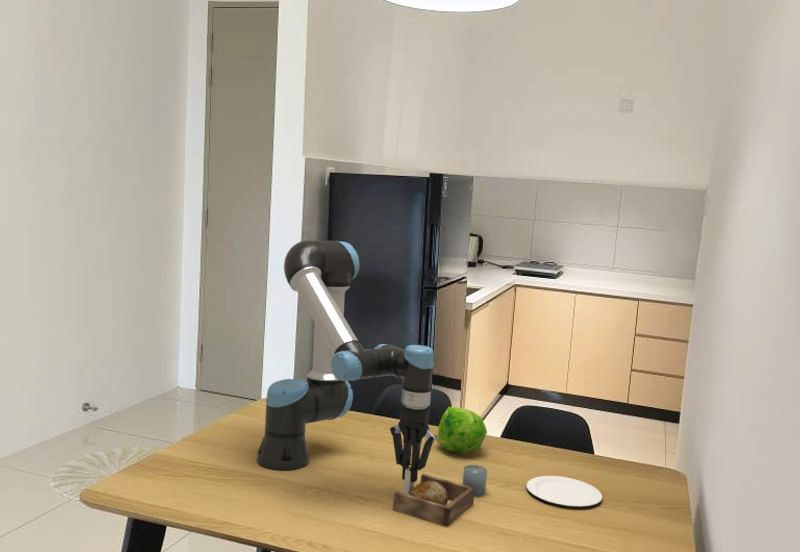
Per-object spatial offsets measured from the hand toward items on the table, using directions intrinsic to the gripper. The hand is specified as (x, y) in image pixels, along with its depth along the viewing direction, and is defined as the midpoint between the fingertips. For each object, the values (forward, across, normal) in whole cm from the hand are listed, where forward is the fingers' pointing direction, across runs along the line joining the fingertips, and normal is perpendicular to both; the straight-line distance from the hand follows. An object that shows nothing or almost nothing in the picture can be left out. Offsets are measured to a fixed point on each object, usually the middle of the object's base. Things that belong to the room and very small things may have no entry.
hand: (408, 492), depth 189 cm
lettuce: (+2, -5, +45) cm, 45 cm away
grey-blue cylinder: (+2, +12, +16) cm, 20 cm away
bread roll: (+2, +6, 0) cm, 6 cm away
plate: (+3, +33, +31) cm, 45 cm away
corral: (+2, +7, 0) cm, 7 cm away
